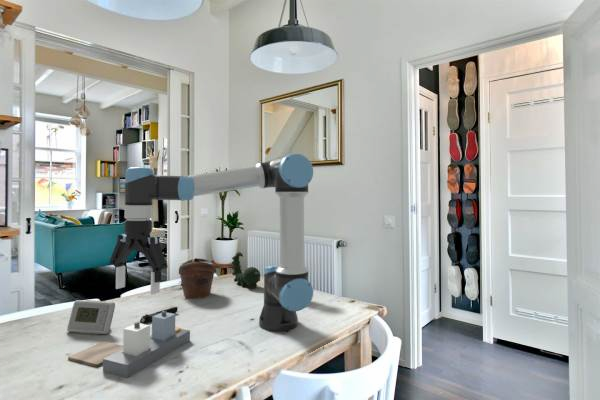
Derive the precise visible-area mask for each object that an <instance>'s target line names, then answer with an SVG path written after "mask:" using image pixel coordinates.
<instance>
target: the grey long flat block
mask: <svg viewBox="0 0 600 400" xmlns="http://www.w3.org/2000/svg"><path fill="white" fill-rule="evenodd" d="M190 341H191V330H190V329H184V328H181V327H177V326H175V336H174V337H172V338H170V339H168V340H166V341H159V340H154V339H152V334H150V350H148V351H146V352H144V353H142V354H140V355H138V356H137V357H136V356H132V355H128V354H123V349H122V350H120V351H118V352H116V353H114V354H112V355H110V356H108V357H106V358H104V359H103V365H102V372H104V373H108V374H113V375H115V376H119V377H123V378H126V379H128V378H130V377H131V376H133V375H134V374H136V373H137V372H140V371H141V370H143V369H144V368H146V367H148V366H150V365H151V364H153V363H155V362H156V361H158V360H160V359H161V358H163V357H165V356H166V355H168V354H170V353H172V352H173V351H175V350H177V349H179V347H181V346H183V345H185V344H187V343H188V342H190Z"/></svg>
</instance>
